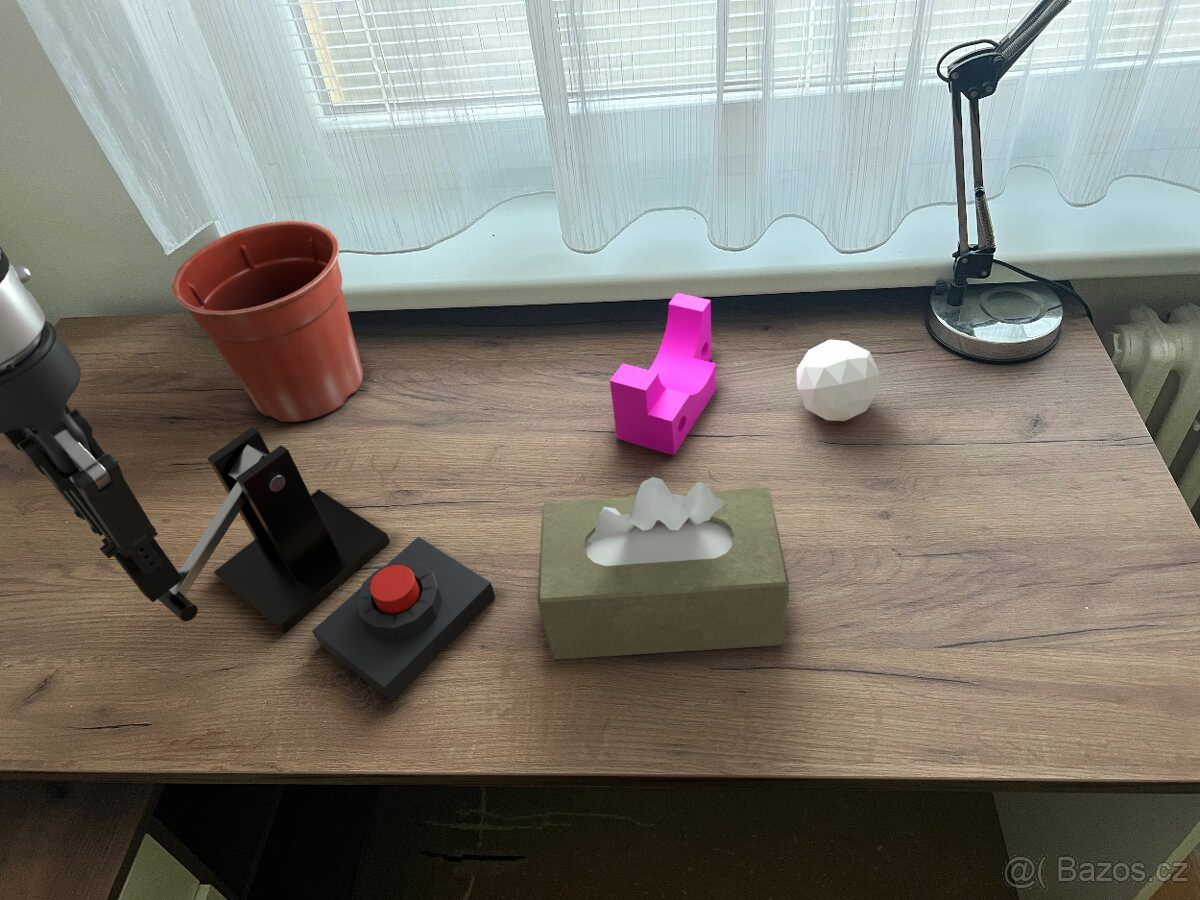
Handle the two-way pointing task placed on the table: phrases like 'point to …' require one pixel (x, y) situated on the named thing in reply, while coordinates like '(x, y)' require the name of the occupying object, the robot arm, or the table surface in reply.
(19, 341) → the robot arm
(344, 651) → the button block
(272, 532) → the bracket
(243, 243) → the flower pot
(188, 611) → the lever
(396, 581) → the button
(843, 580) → the table surface
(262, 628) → the table surface
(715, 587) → the tissue box
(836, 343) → the ball
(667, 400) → the toy block
